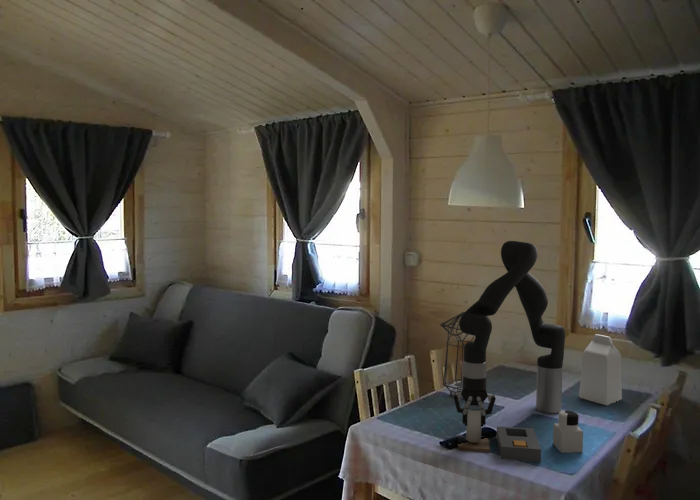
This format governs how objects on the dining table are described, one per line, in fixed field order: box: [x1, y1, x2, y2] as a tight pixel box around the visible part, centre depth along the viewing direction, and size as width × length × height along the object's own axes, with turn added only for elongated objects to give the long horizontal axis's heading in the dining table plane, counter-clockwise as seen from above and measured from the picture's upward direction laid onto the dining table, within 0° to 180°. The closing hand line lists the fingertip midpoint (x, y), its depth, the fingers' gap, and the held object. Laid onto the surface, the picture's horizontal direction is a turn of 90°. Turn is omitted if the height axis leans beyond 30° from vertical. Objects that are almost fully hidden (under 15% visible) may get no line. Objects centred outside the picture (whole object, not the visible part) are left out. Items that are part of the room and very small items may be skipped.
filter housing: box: [495, 425, 542, 463], centre depth 193 cm, size 17×12×4 cm
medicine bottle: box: [552, 410, 584, 454], centre depth 193 cm, size 7×7×12 cm
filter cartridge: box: [465, 405, 482, 443], centre depth 195 cm, size 5×5×12 cm
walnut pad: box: [457, 434, 491, 453], centre depth 196 cm, size 10×10×1 cm
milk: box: [578, 333, 623, 406], centre depth 241 cm, size 12×12×26 cm
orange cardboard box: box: [513, 440, 527, 447], centre depth 187 cm, size 4×4×4 cm
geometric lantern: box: [439, 311, 475, 401], centre depth 245 cm, size 16×16×35 cm
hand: (473, 425), depth 195 cm, fingers closed on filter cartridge, 4 cm apart
